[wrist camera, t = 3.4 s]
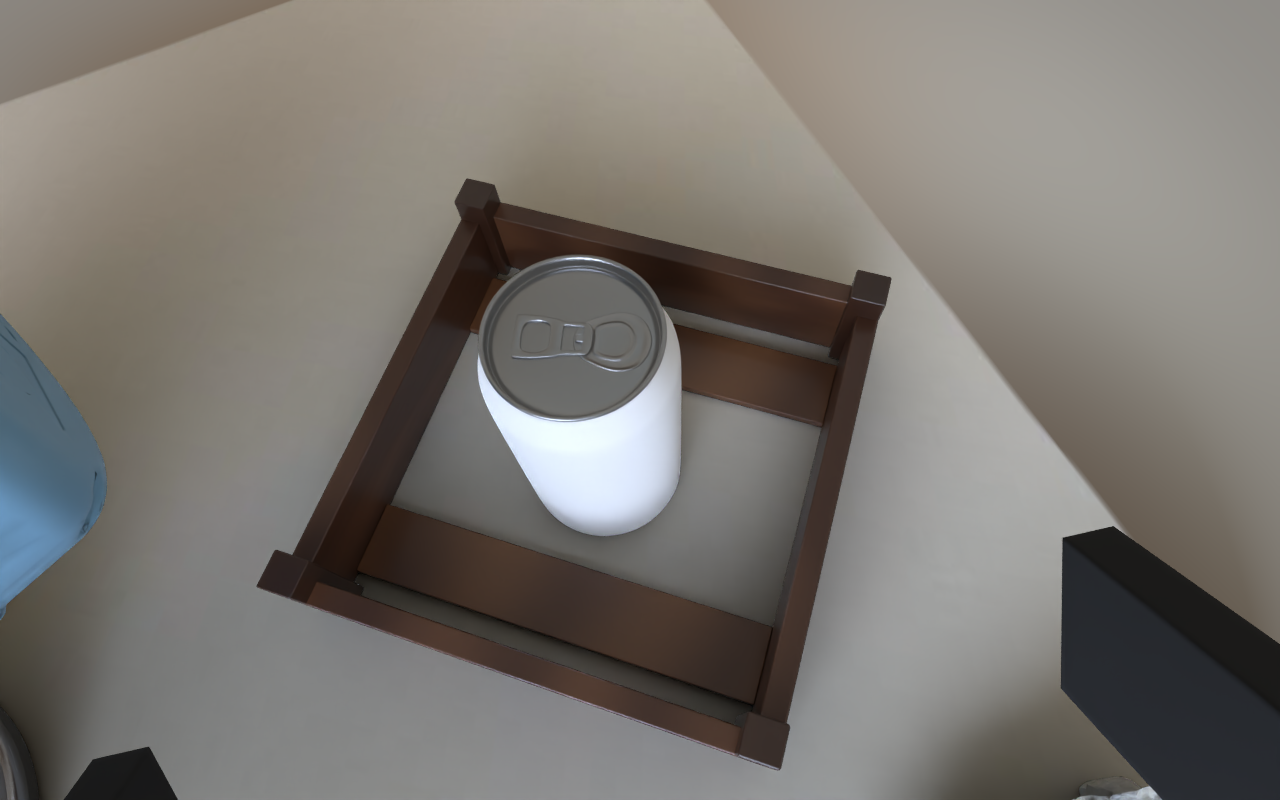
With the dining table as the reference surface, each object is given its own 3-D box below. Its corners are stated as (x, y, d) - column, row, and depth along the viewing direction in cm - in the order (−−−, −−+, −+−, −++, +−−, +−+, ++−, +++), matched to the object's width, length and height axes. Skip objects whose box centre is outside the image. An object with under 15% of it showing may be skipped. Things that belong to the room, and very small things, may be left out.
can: (677, 544, 32) (675, 441, 21) (524, 534, 32) (445, 429, 21) (684, 402, 34) (687, 245, 23) (544, 396, 35) (481, 238, 24)
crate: (319, 609, 31) (255, 586, 27) (492, 246, 38) (466, 177, 34) (763, 766, 28) (780, 771, 23) (863, 339, 35) (892, 277, 30)
